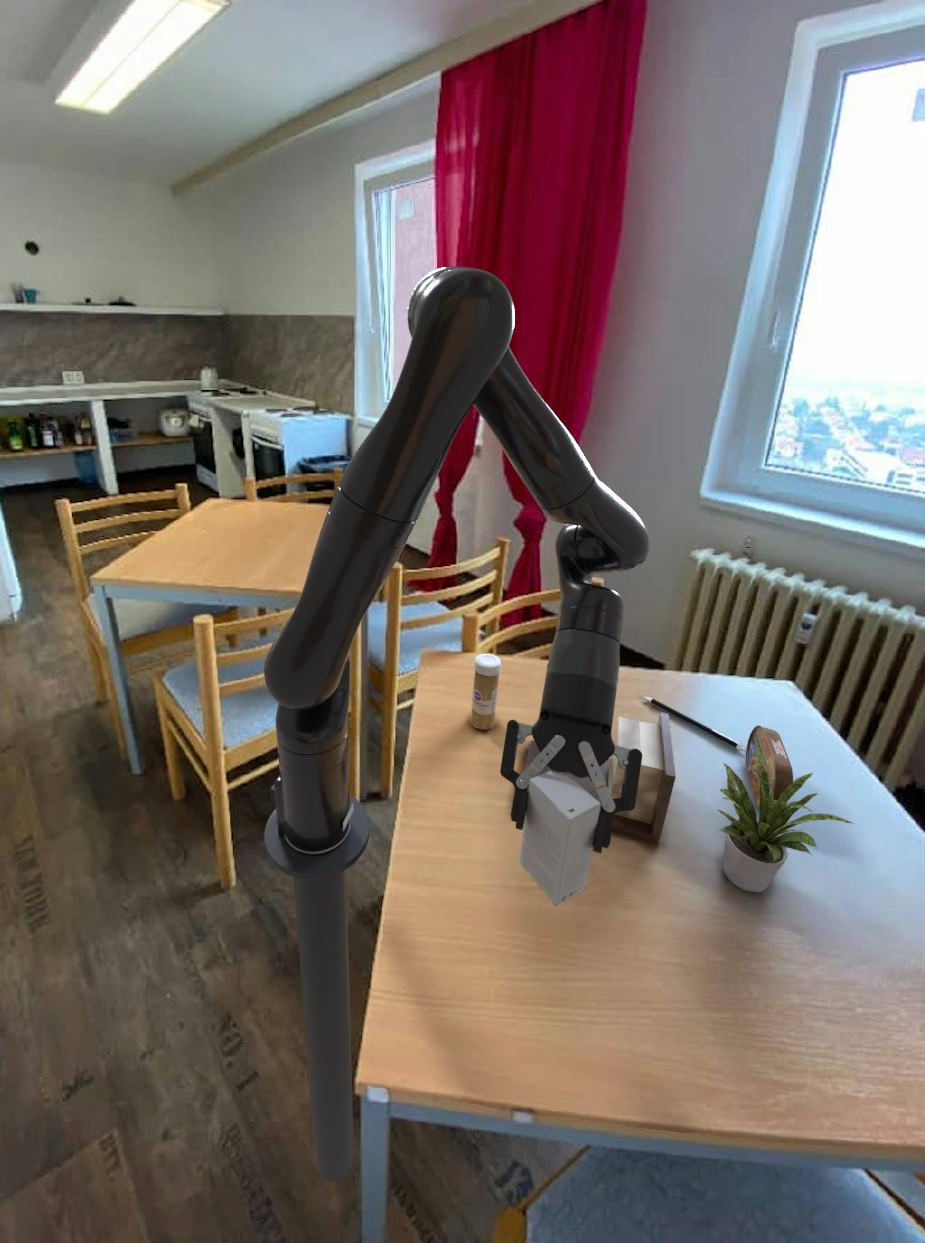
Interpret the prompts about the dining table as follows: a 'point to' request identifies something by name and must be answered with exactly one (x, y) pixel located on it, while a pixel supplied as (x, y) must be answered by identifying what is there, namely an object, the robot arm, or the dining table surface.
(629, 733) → the book rack
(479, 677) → the sprinkles bottle
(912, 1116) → the dining table surface
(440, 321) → the robot arm
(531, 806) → the cosmetic box
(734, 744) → the pen
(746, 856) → the house plant
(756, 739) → the tin
